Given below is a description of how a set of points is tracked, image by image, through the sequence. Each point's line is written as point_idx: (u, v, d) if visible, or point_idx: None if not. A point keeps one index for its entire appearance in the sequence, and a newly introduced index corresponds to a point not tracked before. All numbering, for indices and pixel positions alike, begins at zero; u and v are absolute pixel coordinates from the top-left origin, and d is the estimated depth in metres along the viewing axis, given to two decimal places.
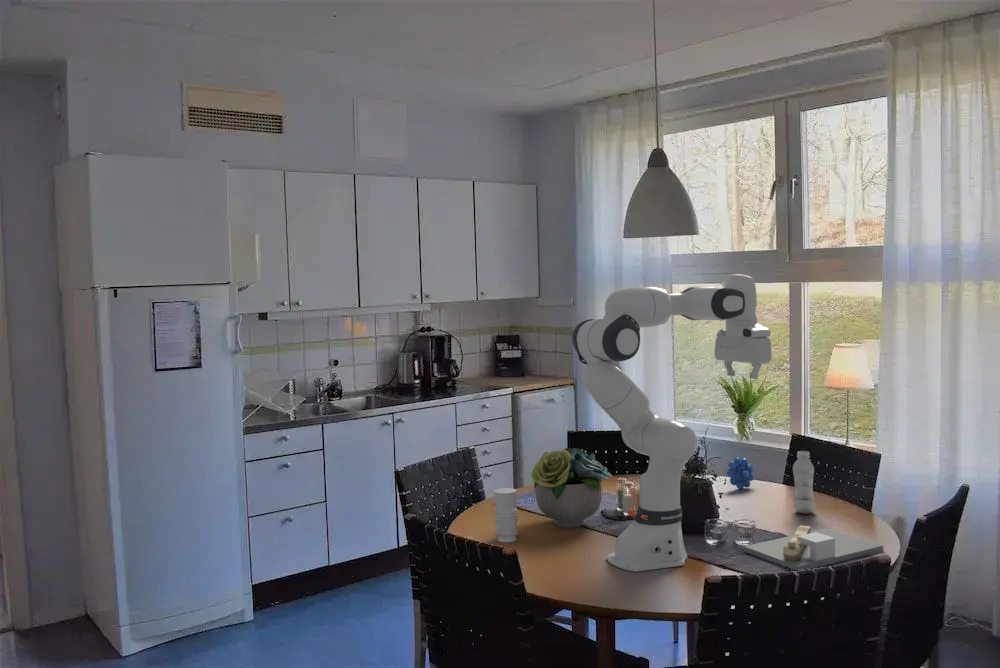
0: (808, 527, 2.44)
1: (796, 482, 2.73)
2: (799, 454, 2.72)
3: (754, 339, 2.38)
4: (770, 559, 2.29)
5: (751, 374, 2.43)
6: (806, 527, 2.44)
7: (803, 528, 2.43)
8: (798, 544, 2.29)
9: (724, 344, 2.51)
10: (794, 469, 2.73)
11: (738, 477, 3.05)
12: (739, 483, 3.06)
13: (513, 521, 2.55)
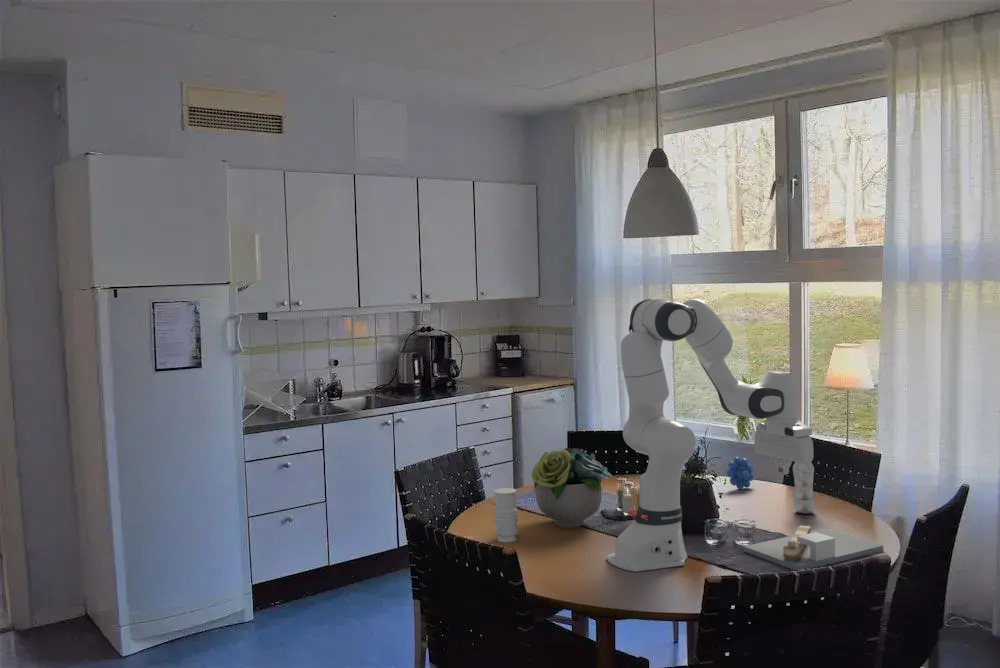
0: (808, 527, 2.44)
1: (796, 482, 2.73)
2: None
3: (796, 439, 2.39)
4: (770, 559, 2.29)
5: (782, 469, 2.47)
6: (806, 527, 2.44)
7: (803, 528, 2.43)
8: (798, 544, 2.29)
9: (764, 439, 2.52)
10: (794, 469, 2.73)
11: (738, 477, 3.05)
12: (739, 483, 3.06)
13: (513, 521, 2.55)
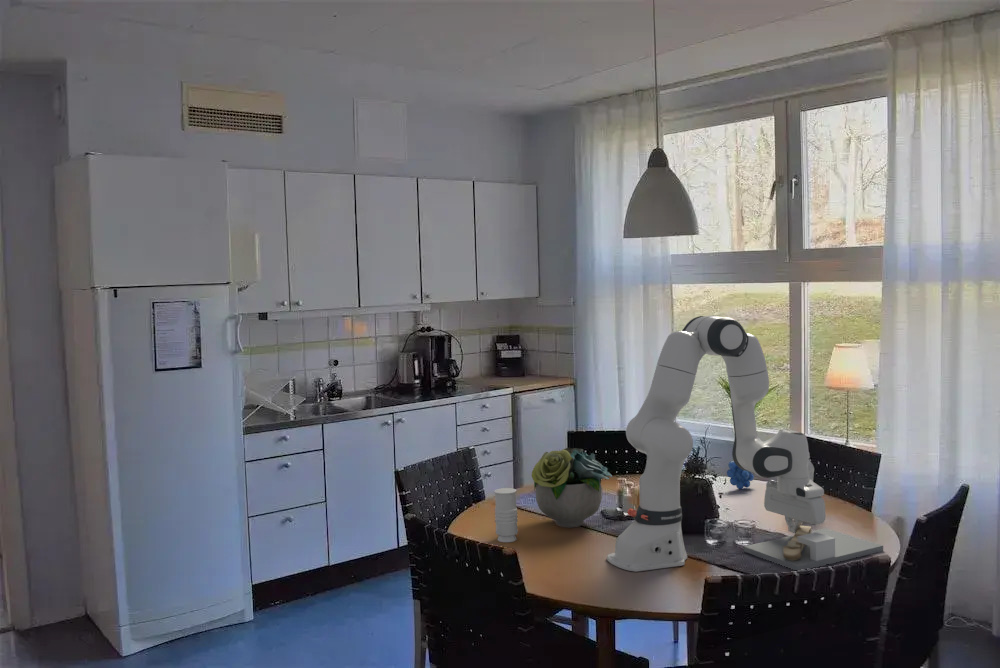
0: (809, 527, 2.43)
1: None
2: None
3: (808, 500, 2.36)
4: (770, 559, 2.29)
5: (793, 529, 2.44)
6: (807, 527, 2.44)
7: (803, 528, 2.43)
8: (798, 544, 2.29)
9: (774, 497, 2.49)
10: None
11: (738, 477, 3.05)
12: (739, 483, 3.06)
13: (513, 521, 2.55)
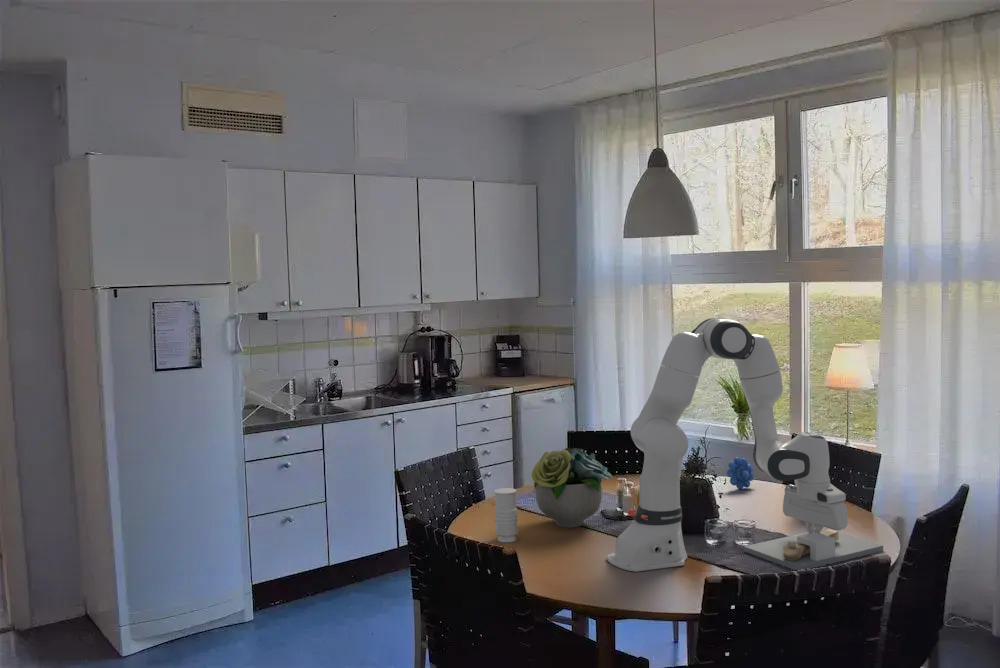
0: (834, 531, 2.39)
1: (796, 482, 2.73)
2: None
3: (830, 505, 2.30)
4: (770, 559, 2.29)
5: None
6: (832, 531, 2.39)
7: (828, 531, 2.39)
8: (803, 545, 2.27)
9: (793, 502, 2.43)
10: None
11: (738, 477, 3.05)
12: (739, 483, 3.06)
13: (513, 521, 2.55)
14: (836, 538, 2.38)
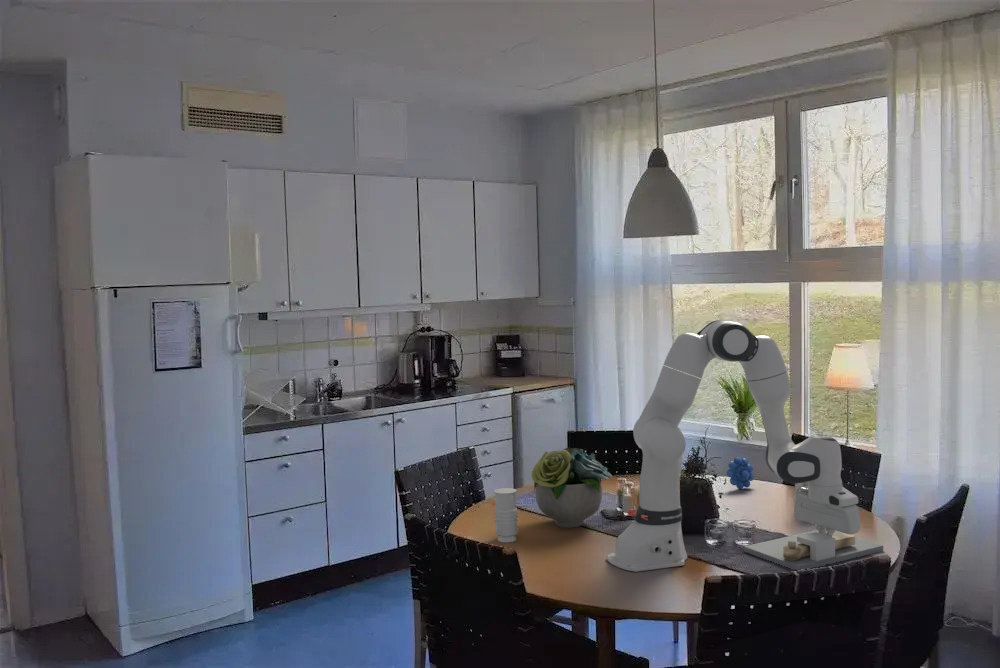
0: (850, 536, 2.34)
1: None
2: None
3: (842, 508, 2.26)
4: (770, 559, 2.29)
5: None
6: (848, 536, 2.34)
7: (844, 535, 2.35)
8: (805, 546, 2.27)
9: (805, 505, 2.39)
10: None
11: (738, 477, 3.05)
12: (739, 483, 3.06)
13: (513, 521, 2.55)
14: (852, 543, 2.34)
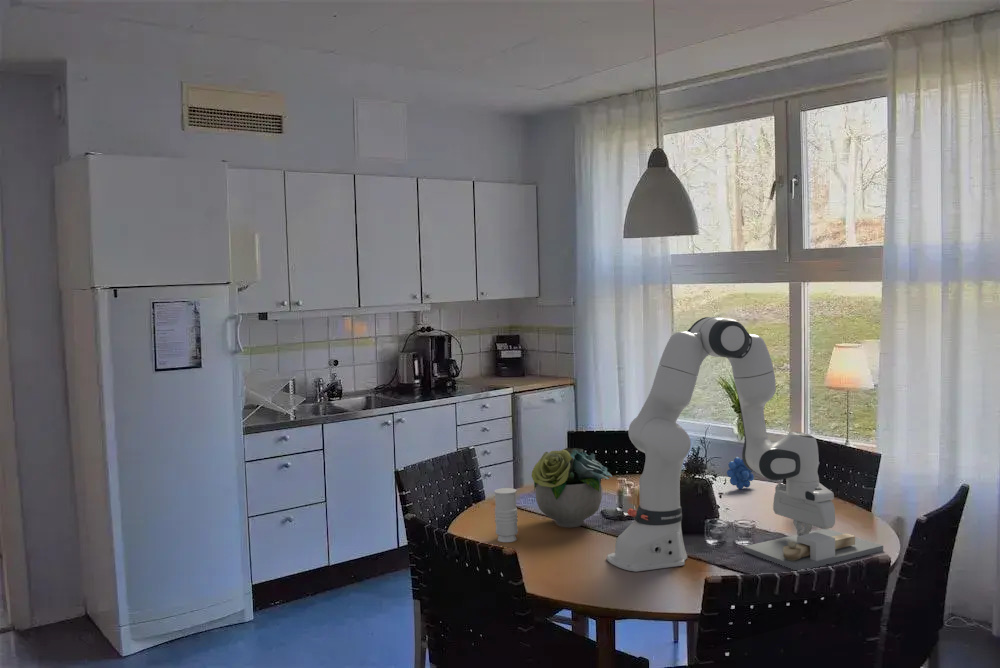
0: (850, 536, 2.34)
1: None
2: None
3: (817, 504, 2.33)
4: (770, 559, 2.29)
5: (802, 533, 2.41)
6: (848, 536, 2.34)
7: (844, 535, 2.35)
8: (805, 546, 2.27)
9: (783, 500, 2.46)
10: None
11: (738, 477, 3.05)
12: (739, 483, 3.06)
13: (513, 521, 2.55)
14: (852, 543, 2.34)
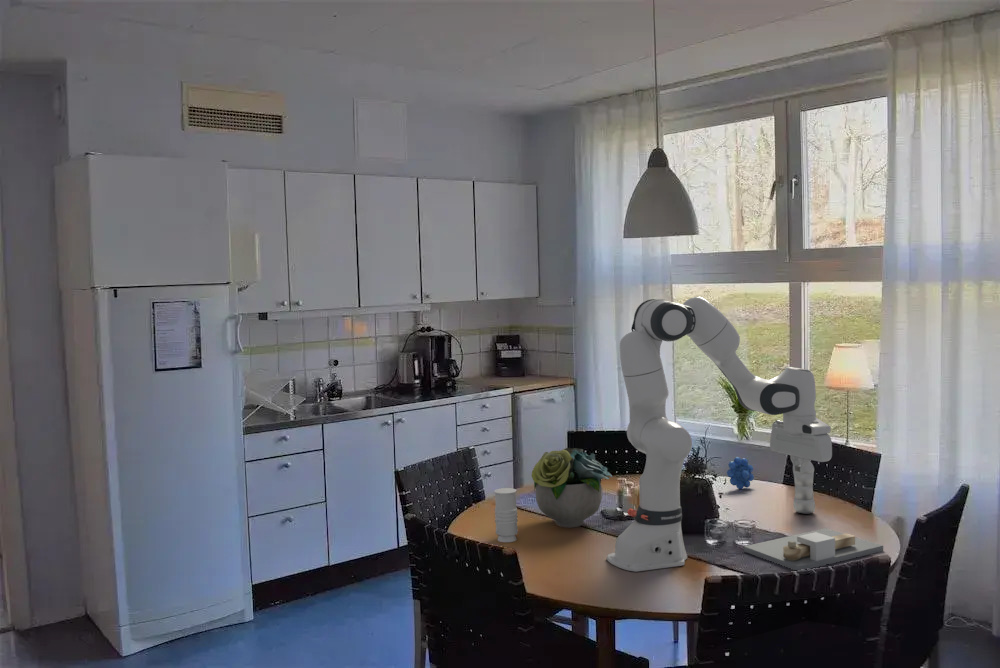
0: (850, 536, 2.34)
1: (796, 482, 2.73)
2: None
3: (814, 436, 2.33)
4: (770, 559, 2.29)
5: (799, 468, 2.40)
6: (848, 536, 2.34)
7: (844, 535, 2.35)
8: (805, 546, 2.27)
9: (780, 436, 2.45)
10: None
11: (738, 477, 3.05)
12: (739, 483, 3.06)
13: (513, 521, 2.55)
14: (852, 543, 2.34)
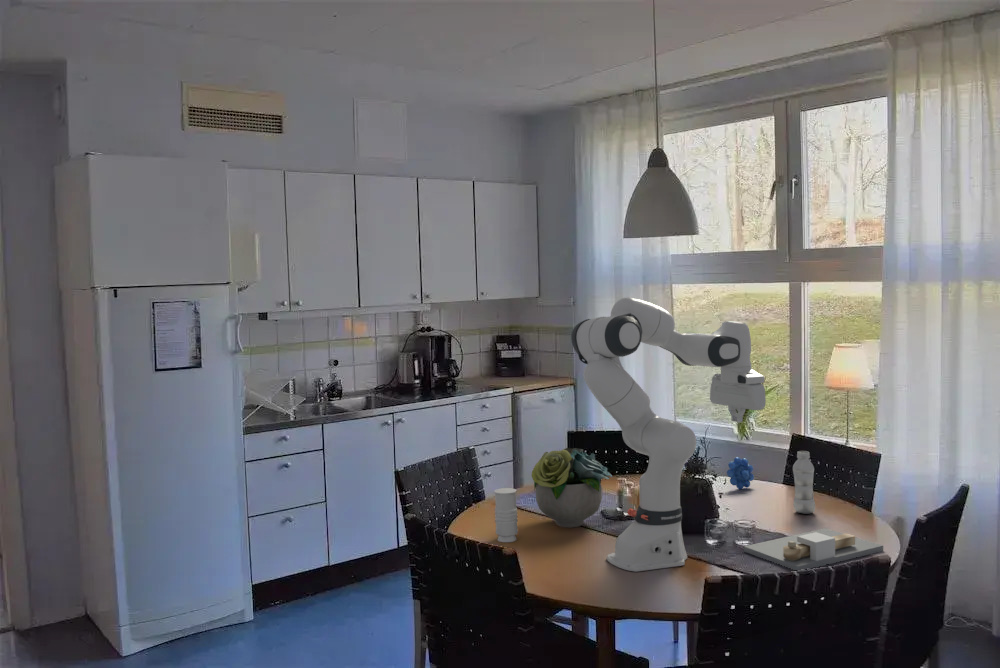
0: (850, 536, 2.34)
1: (796, 482, 2.73)
2: (799, 454, 2.72)
3: (748, 386, 2.43)
4: (770, 559, 2.29)
5: (736, 418, 2.51)
6: (848, 536, 2.34)
7: (844, 535, 2.35)
8: (805, 546, 2.27)
9: (719, 388, 2.56)
10: (794, 469, 2.73)
11: (738, 477, 3.05)
12: (739, 483, 3.06)
13: (513, 521, 2.55)
14: (852, 543, 2.34)
